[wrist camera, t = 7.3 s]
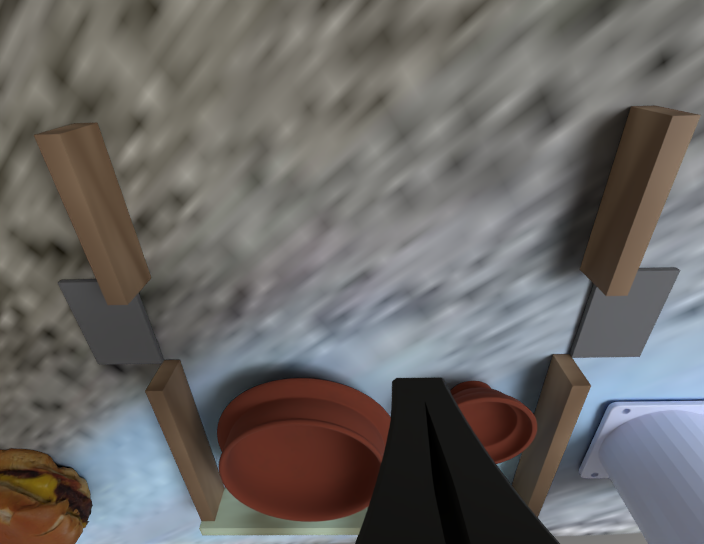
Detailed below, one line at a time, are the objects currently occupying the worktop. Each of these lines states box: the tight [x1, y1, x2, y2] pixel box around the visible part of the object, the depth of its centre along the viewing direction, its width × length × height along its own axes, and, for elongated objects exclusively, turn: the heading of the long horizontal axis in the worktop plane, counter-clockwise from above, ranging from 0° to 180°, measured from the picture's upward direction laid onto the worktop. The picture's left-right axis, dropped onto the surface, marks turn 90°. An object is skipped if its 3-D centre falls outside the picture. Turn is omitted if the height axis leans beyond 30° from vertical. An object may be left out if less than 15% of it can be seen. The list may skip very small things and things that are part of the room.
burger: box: [0, 448, 93, 544], centre depth 29 cm, size 10×9×5 cm
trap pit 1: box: [58, 279, 164, 364], centre depth 22 cm, size 4×6×1 cm, turn 2°
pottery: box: [217, 378, 537, 522], centre depth 25 cm, size 12×20×4 cm, turn 102°
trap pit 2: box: [570, 268, 680, 358], centre depth 22 cm, size 4×6×1 cm, turn 2°
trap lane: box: [34, 106, 701, 535], centre depth 23 cm, size 25×29×3 cm
